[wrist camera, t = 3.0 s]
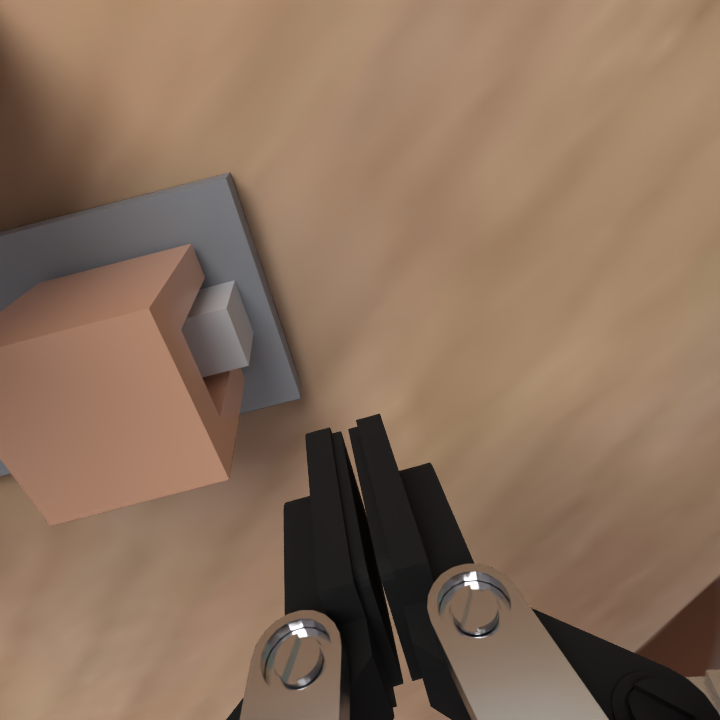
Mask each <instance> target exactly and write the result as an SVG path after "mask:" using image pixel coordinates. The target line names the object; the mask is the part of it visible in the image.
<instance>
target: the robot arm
mask: <svg viewBox="0 0 720 720" xmlns="http://www.w3.org/2000/svg"><path fill="white" fill-rule="evenodd" d="M356 422H357V426H358V427H354V428H351V429H348V430H349V435H350V440H351V444H352V449H353V454H354V458H355V463H356V468H357V472H358V477H359V482H360V486H361V491H362V496H363V500H364V505H365V509H364V505H363V502H362V499H361V495H360V492H359V489H358V486H357V482H356V479H355V476H354V472H353V469H352V466H351V462H350V459H349V456H348V452H347V449H346V446H345V443H344V439H343V436H342V433H341V431H340V432H336V433H333V434H332V431H331V429H330V427H329V428H326V429H322V430H318V431H315V432H311V433H307V434H306V450H307V463H308V475H309V488H310V496H308V497H304V498H301V499H297V500H293V501H290V502H286V503H285V505H284V583H285V616H283V617H282V618H280V619H278V620H277V621H275V622H274V623H273V624H272V625H271V626H270V627H269V628H268V629H267V630H266V631H265V632H264V633H263V635H262V636H261V638H260V639H259V641H258V643H257V644H256V646H255V649H254V652H253V655H252V658H251V663H250V668H249V673H248V678H247V684H246V689H245V694H244V698H243V699H242V700H241V702H240V703H239V704H238V705H237V707H236V708H235V709H234V710H233V712H232V713H231V714H230V716H229V717H228V718H227V719H226V720H393V719H394V712H393V707H397V705H396V700H395V695H394V689H393V687H394V686H397V685H400V684H403V678H402V673H401V669H400V664H399V659H398V655H397V650H396V645H395V641H394V636H393V632H392V627H391V622H390V618H389V613H388V608H387V604H386V599H385V595H384V591H385V594H386V597H387V600H388V603H389V607H390V610H391V613H392V616H393V620H394V623H395V626H396V629H397V633H398V636H399V639H400V642H401V646H402V649H403V652H404V655H405V658H406V662H407V665H408V668H409V671H410V675H411V678H412V681H414V680H418V679H421V678H423V681H424V685H425V688H426V692H427V695H428V698H429V702H430V705H431V707H433V708H434V709H436V710H437V711H439V712H440V713H442V714H444V715H445V716H447V717H448V718H450V719H451V720H720V670H706V673H705V677H684V676H682V675H680V674H678V673H677V672H675V671H673V670H671V669H669V668H667V667H665V666H663V665H661V664H658V663H656V662H654V661H651V660H649V659H647V658H644V657H642V656H640V655H638V654H635V653H633V652H631V651H628V650H626V649H624V648H622V647H619V646H617V645H615V644H612V643H610V642H608V641H606V640H603V639H601V638H599V637H596V636H594V635H592V634H590V633H587V632H585V631H583V630H580V629H578V628H576V627H573V626H571V625H569V624H567V623H564V622H562V621H560V620H557V619H555V618H553V617H551V616H548V615H546V614H544V613H541V612H539V611H537V610H535V609H532V608H531V607H530V606H529V604H528V603H527V602H526V600H525V599H524V597H523V596H522V594H521V593H520V592H519V590H518V589H517V587H516V586H515V584H514V583H513V582H512V581H511V580H510V579H509V578H508V577H507V576H506V575H505V574H504V573H502V572H500V571H498V570H497V569H495V568H493V567H490V566H486V565H482V564H474V562H473V559H472V557H471V555H470V552H469V550H468V548H467V545H466V543H465V541H464V538H463V536H462V534H461V531H460V529H459V527H458V524H457V522H456V520H455V517H454V515H453V513H452V510H451V508H450V506H449V503H448V501H447V499H446V496H445V494H444V492H443V489H442V487H441V484H440V482H439V480H438V477H437V475H436V473H435V470H434V468H433V466H432V464H431V463H427V464H423V465H420V466H416V467H412V468H409V469H405V470H402V471H399V470H398V467H397V464H396V461H395V458H394V455H393V452H392V449H391V446H390V443H389V440H388V437H387V434H386V431H385V428H384V425H383V422H382V419H381V416H380V414H377V415H373V416H369V417H366V418H362V419H358V420H356ZM365 510H366V512H365ZM366 514H367V515H366ZM381 580H382V581H381ZM382 584H383V585H382ZM383 587H384V590H383Z"/></svg>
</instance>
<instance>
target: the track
mask: <svg viewBox="0 0 720 720" xmlns="http://www.w3.org/2000/svg"><path fill="white" fill-rule="evenodd" d="M191 243H192V246H193V248H194V251H195V253H196V256H197V258H198V261H199V263H200V266H201V268H202V271H203V274H204V276H205V279H204V281H203V283H202V285H201V287H200V290H199V292H198V294H197V296H196V298H195V300H194V303H193V305H192V307H191V309H190V311H189V313H188V316H187V318H186V320H185V322H184V324H183V326H182V329H181V331H182V333H183V336H184V338H185V340H186V342H187V345H188V347H189V349H190V351H191V354H192V356H193V358H194V360H195V362H196V365H197V367H198V369H199V371H200V374H201V376H202V378H203V377H207V376H210V375H214V374H218V373H222V372H226V371H230V370H234V369H237V368H241V369H242V372H243V374H244V377H245V382H244V389H243V395H242V402H241V408H240V414H242V413H246V412H250V411H254V410H258V409H262V408H266V407H269V406H273V405H277V404H281V403H285V402H289V401H293V400H296V399H300V398H301V391H300V380H299V377H298V374H297V371H296V368H295V365H294V362H293V359H292V356H291V353H290V350H289V347H288V344H287V341H286V338H285V335H284V332H283V329H282V326H281V323H280V320H279V317H278V314H277V311H276V308H275V305H274V302H273V299H272V296H271V293H270V290H269V287H268V284H267V281H266V278H265V275H264V272H263V269H262V266H261V263H260V260H259V257H258V254H257V251H256V248H255V245H254V242H253V239H252V236H251V233H250V230H249V227H248V224H247V221H246V218H245V215H244V212H243V209H242V206H241V203H240V200H239V197H238V195H237V192H236V189H235V186H234V183H233V180H232V177H231V174H230V173H226V174H222V175H219V176H215V177H211V178H207V179H203V180H199V181H195V182H191V183H188V184H184V185H180V186H176V187H172V188H168V189H164V190H160V191H157V192H153V193H149V194H145V195H141V196H137V197H133V198H129V199H126V200H122V201H118V202H114V203H110V204H106V205H102V206H98V207H95V208H91V209H87V210H83V211H79V212H75V213H71V214H67V215H63V216H60V217H56V218H52V219H48V220H44V221H40V222H36V223H32V224H29V225H25V226H21V227H17V228H13V229H9V230H5V231H1V232H0V312H1V311H2V310H4V309H5V308H6V307H8V306H9V305H10V304H11V303H13V302H14V301H15V300H17V299H18V298H19V297H21V296H22V295H23V294H25V293H26V292H27V291H29V290H30V289H31V288H33V287H34V286H35V285H37V284H38V283H40V282H44V281H48V280H52V279H56V278H60V277H63V276H67V275H71V274H75V273H79V272H83V271H87V270H91V269H94V268H98V267H102V266H106V265H110V264H114V263H118V262H121V261H125V260H129V259H133V258H137V257H141V256H145V255H149V254H152V253H156V252H160V251H164V250H168V249H172V248H176V247H180V246H183V245H187V244H191ZM7 474H11V473H10V471H9V470H8V469H7V467H6V466H5V465H4V463H3V462H2V461H1V460H0V476H3V475H7Z"/></svg>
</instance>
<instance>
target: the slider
mask: <svg viewBox="0 0 720 720" xmlns="http://www.w3.org/2000/svg"><path fill="white" fill-rule="evenodd" d="M204 279H205V276H204V274H203V271H202V268H201V266H200V263H199V261H198V258H197V256H196V253H195V251H194V248H193V246H192V243H191V244H187V245H183V246H180V247H176V248H172V249H168V250H164V251H160V252H156V253H152V254H149V255H145V256H141V257H137V258H133V259H129V260H125V261H121V262H118V263H114V264H110V265H106V266H102V267H98V268H94V269H91V270H87V271H83V272H79V273H75V274H71V275H67V276H63V277H60V278H56V279H52V280H48V281H44V282H40V283H38V284H37V285H35V286H34V287H33V288H31V289H30V290H29V291H27V292H26V293H25V294H23V295H22V296H21V297H19V298H18V299H17V300H15V301H14V302H13V303H11V304H10V305H9V306H8V307H6V308H5V309H4V310H2V311H1V312H0V460H1V461H2V462H3V463H4V465H5V466H6V467H7V469H8V470H9V471H10V473H11V474H12V475H13V477H14V478H15V479H16V481H17V482H18V483H19V485H20V486H21V487H22V489H23V490H24V491H25V493H26V494H27V495H28V497H29V498H30V499H31V501H32V502H33V503H34V505H35V506H36V507H37V509H38V510H39V511H40V513H41V514H42V515H43V517H44V518H45V519H46V521H47V522H48V523H49V525H50V526H52V525H56V524H60V523H64V522H68V521H72V520H76V519H79V518H83V517H87V516H91V515H95V514H99V513H103V512H106V511H110V510H114V509H118V508H122V507H126V506H129V505H133V504H137V503H141V502H145V501H149V500H153V499H156V498H160V497H164V496H168V495H172V494H176V493H180V492H183V491H187V490H191V489H195V488H199V487H203V486H206V485H210V484H214V483H218V482H222V481H226V480H229V478H230V472H231V465H232V459H233V453H234V446H235V440H236V434H237V427H238V421H239V414H240V408H241V402H242V395H243V389H244V382H245V377H244V374H243V372H242V369H241V368H237V369H234V370H230V371H226V372H222V373H218V374H214V375H210V376H207V377H203V378H202V376H201V374H200V371H199V369H198V367H197V365H196V362H195V360H194V358H193V356H192V354H191V351H190V349H189V347H188V345H187V342H186V340H185V338H184V336H183V333H182V331H181V329H182V326H183V324H184V322H185V320H186V318H187V316H188V313H189V311H190V309H191V307H192V305H193V303H194V300H195V298H196V296H197V294H198V292H199V290H200V287H201V285H202V283H203V281H204Z"/></svg>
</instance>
